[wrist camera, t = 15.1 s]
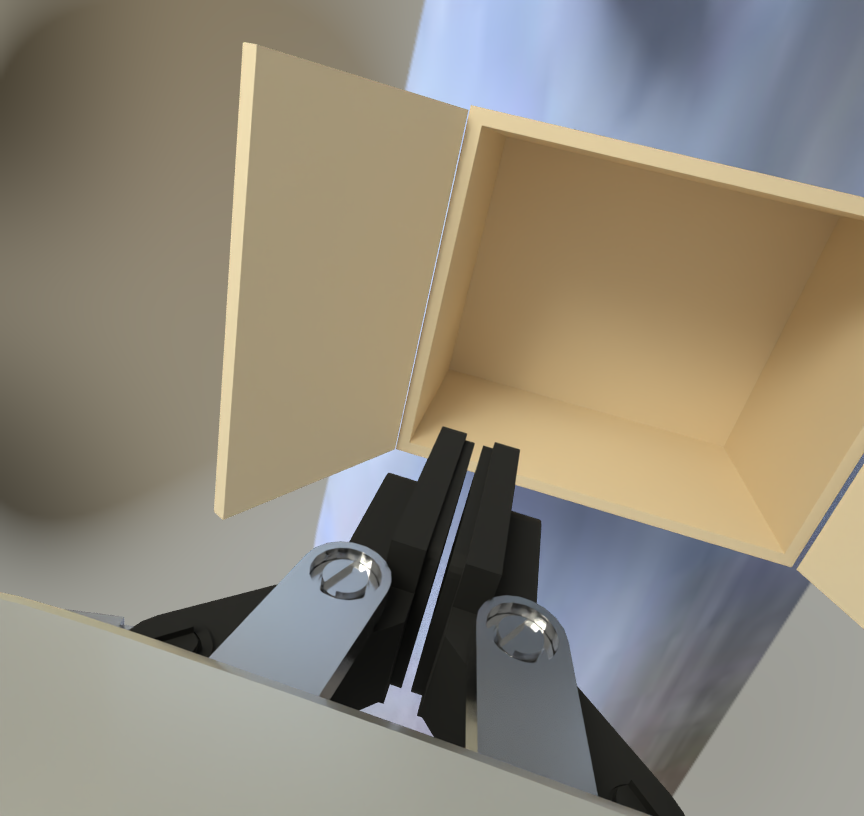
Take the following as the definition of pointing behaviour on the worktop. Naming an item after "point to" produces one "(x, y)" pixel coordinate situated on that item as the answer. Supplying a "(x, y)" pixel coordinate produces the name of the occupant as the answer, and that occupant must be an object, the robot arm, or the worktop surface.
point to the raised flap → (841, 554)
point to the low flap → (325, 270)
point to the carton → (647, 333)
